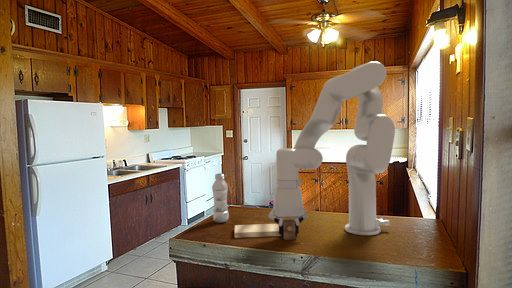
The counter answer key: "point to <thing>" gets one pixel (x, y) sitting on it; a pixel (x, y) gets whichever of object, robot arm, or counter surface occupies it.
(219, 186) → the plastic bottle
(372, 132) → the robot arm
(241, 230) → the board
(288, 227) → the brown handled block
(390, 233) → the counter surface
